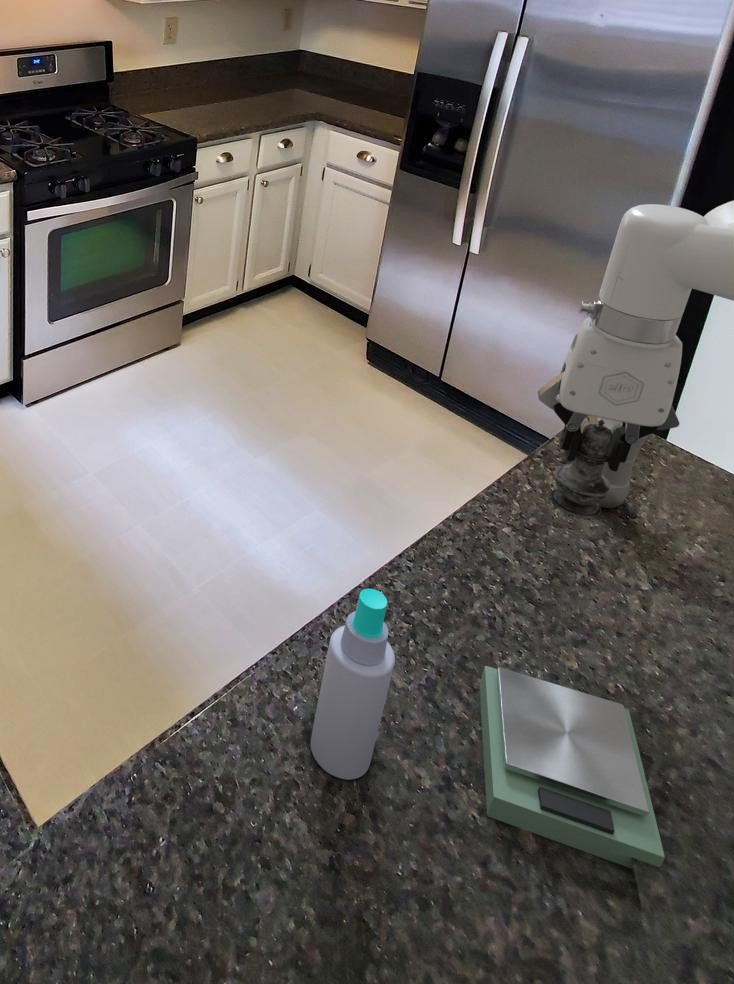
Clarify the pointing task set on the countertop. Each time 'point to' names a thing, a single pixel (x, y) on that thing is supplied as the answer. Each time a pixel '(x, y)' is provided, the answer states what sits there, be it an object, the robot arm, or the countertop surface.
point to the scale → (562, 800)
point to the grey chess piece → (584, 475)
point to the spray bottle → (353, 690)
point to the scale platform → (569, 740)
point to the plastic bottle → (619, 470)
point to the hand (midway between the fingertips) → (589, 458)
